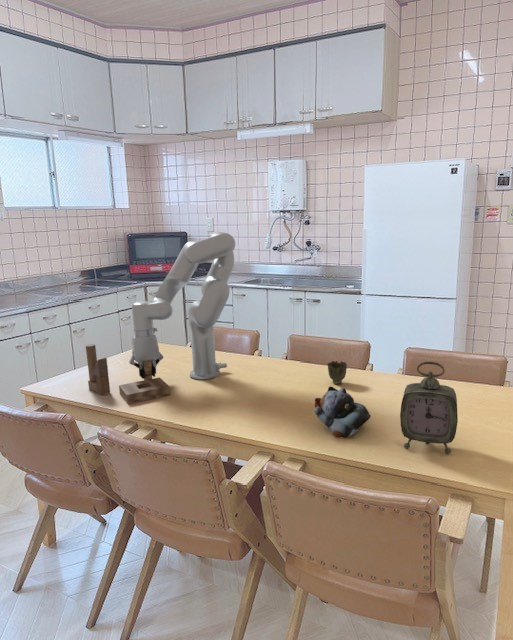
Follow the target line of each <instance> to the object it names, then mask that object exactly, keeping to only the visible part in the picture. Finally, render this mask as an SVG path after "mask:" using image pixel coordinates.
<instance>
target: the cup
mask: <svg viewBox="0 0 513 640" xmlns="http://www.w3.org/2000/svg"><path fill="white" fill-rule="evenodd" d="M347 369H348V364H347V362H346V361H342V360H341V361H340V362H338V361H337V360H336V361H331V362H327V371H328V376H329V378H330V379H331V380H332V382H331V383H332V384H333V385H341V384H342V383H343V380H345V377H346V374H347Z"/></svg>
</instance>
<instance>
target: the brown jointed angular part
mask: <svg viewBox="0 0 513 640" xmlns="http://www.w3.org/2000/svg"><path fill="white" fill-rule="evenodd" d="M96 347H97V346H96V344H95V343H89V344H87V345H85V352H86V359H87V360H86V361H87V367H88V378H89V379H88V380H87V383H88V384H87V385H88V389H89V390H90V391H92V392H94V393H97V394H99V395H101V396H104V395H106V394H107V393H108V394H111V387H110V386H111V385H110V379H109V369H108V358H107V357H103V358H99V359H97V349H96Z"/></svg>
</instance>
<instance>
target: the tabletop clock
mask: <svg viewBox="0 0 513 640" xmlns="http://www.w3.org/2000/svg"><path fill="white" fill-rule="evenodd" d="M423 365H435V366H438V367H440V368H441V370H442V371H441V372H440V373H437V374H433V371H429V372H428V373H424V372H422V371H420V367H422V366H423ZM416 371H417V372H418V374H419V375H421V376H424V378H422V380H421V381H420V382H412V383H409V384H406V387H405V389H404V391H403V395H402V400H401V405H400V413H399V414H400V415H399V417H400V419H399V420H400V429H401V433H402V435H403V437H404V438H407V439H408V441H407V442H405V443H404V444H403V447H404V449H406V450H407V449H410V448H411V447H410V446H411V445H410V443H411V442H412V441H416V442H422V443H425V444H426V445H429V444H442V445H444V447H445V449H444V453H445V454H447V455H450V454H451V453H452V449H451V448H450V447H448V444H450V443H453V440H454V439H455V437H456V433H457V428H458V421H459V420H458V398H457V393H456V391H455V389H454V388H453V387H450V386H448V385H445V384H440V381H439V380H438V379H437V378H438V377H441V376H443V375H444V373H445V371H446V370H445V368H444V366H443V365H442V364H441V363H439V362H435V361H424V362H421V363H419V364H418V366H417V367H416Z"/></svg>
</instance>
